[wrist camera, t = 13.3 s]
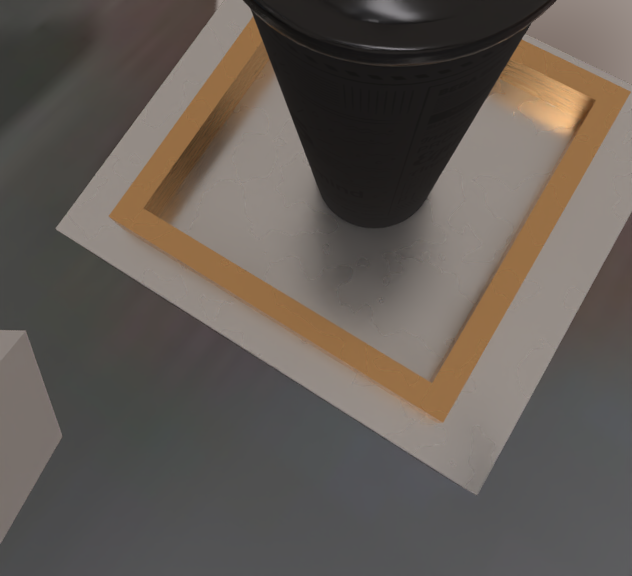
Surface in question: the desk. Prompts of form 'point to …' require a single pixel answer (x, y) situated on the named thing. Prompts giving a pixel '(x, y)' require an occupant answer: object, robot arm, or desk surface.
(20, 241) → the desk surface
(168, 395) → the desk surface
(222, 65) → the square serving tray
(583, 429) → the desk surface
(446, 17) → the drinking cup
